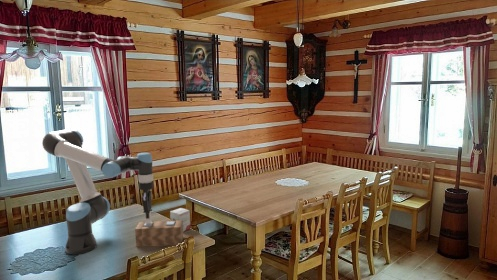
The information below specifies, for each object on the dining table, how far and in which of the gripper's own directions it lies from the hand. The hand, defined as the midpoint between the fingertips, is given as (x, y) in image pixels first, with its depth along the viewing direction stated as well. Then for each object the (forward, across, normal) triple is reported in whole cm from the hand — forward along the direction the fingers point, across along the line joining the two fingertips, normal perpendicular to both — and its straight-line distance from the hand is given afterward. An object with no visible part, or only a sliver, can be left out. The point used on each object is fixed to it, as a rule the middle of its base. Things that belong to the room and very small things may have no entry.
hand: (148, 223), depth 192 cm
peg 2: (+10, 0, -12) cm, 16 cm away
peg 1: (+10, 0, 0) cm, 10 cm away
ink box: (+11, +17, -15) cm, 25 cm away
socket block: (+11, 0, -6) cm, 12 cm away
